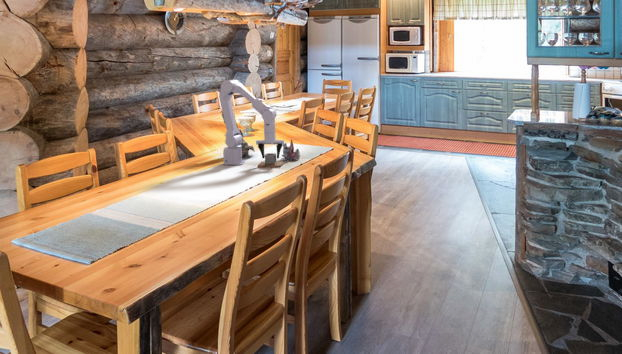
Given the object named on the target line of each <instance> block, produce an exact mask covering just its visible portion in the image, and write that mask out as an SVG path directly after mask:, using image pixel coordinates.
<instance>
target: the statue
mask: <svg viewBox="0 0 622 354" xmlns="http://www.w3.org/2000/svg"><path fill="white" fill-rule="evenodd" d="M220 113H221V116H222V119H223V123H224V125H225V126H226V124H225V120H224V115H223V111H222V110H221V112H220ZM234 117H235V115H234ZM235 118H236V117H235ZM235 122H236V126H237V128H238V130H239V131H240V134H241V135H242V137H243V138H244V135H243V131H242V129H241V128H239V126H238V123H237V121H236V119H235ZM225 129H226V130H227V128H226V127H225ZM241 146H242V157H244V156H249V152H250V151H251V152H254V153H256V152H255V148H254V146H253V145H249V144H248V142H246V141H245V139H243V142H242V144H241Z"/></svg>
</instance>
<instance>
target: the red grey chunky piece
mask: <svg viewBox="0 0 622 354" xmlns="http://www.w3.org/2000/svg"><path fill="white" fill-rule="evenodd" d="M287 144H288V143H286V142H284V145H282V155H281V157H283V158H284V159H285V160H286V161H287V160H291V161H297V160H296V159H298V160H299V159H300V157H301V152H300V150H299V148H296V150H295V147H294V143H293V139H290V145H288V146H287Z"/></svg>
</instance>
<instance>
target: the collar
mask: <svg viewBox="0 0 622 354" xmlns="http://www.w3.org/2000/svg"><path fill="white" fill-rule="evenodd" d="M264 155H265V158H264V162H265V165H275V164H276V162H277V152H276V153H275V152H274V153H273V152H271V153H270V152H269V153H265V154H264Z"/></svg>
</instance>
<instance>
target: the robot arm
mask: <svg viewBox="0 0 622 354" xmlns="http://www.w3.org/2000/svg"><path fill="white" fill-rule="evenodd" d="M219 87H220V92H219V96H218V97H219V102H220V107H221V111H223V115H224V120H225V123H224V125H225V124H226V125H225V129H226V128H227V129H226V131H225V134H224V136H225V140H224V141H225V145H226V146H227V147H226V146H225V147H224V148H223V165H224V166H227V165H228V166H240V165H243V164H244V163H245V161H244V160H243V156H242V146H241V144H242V142H243V140H244V136H243V137H242V135H241V134H240V131H239V130H238V129H239V127H238V128H237V126H238V125H237V126H236V123H237V121H236V122H235V120H236V117H234V116H235V113H234V109H233V104H232V101H231V99H232V97H233V95H234V94H239V95H241V96H242V97H243V98H245V99H246V100H247V101H248V102H250V103H251V107H252V108H253V109H254V110H255V111H256V113H258V114H260V116H261V118H262V119H263V132H264V133H263V135H264V136H263V137H264V139H261V140H260V139H259V140H258V139H257V140H256V141H255V145H257V148H258V149H259V152H260V154H261V157H262V159H265V155H266V154H265V145H276V160H277V159H279V158H280V152H281V150H282V149H283V145H284V144H285V140H284V139H283V140H282V139H277V138H276V117H277V111H276V109H275V108H273V107H271V106H270V105H267V103H265V102H264V99H263V98H259V97H258V98H257V97H255V96H254V95H253V94H252V93H251V92H250V91H249V90H248V89H247V88H246V86H244V84H243V83H242V82H240V81H239V80H238V79H237V78H236V79H234V78H233V79H228V80H227V79H225V80H224V81H223V82H222V83H221V85H220V86H219ZM224 120H223V121H224Z"/></svg>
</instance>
